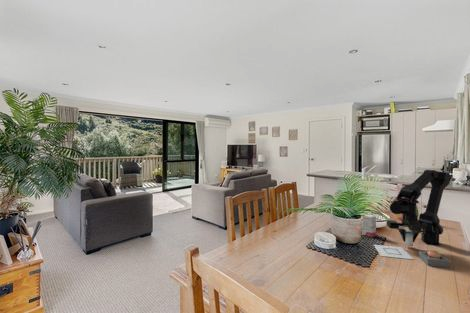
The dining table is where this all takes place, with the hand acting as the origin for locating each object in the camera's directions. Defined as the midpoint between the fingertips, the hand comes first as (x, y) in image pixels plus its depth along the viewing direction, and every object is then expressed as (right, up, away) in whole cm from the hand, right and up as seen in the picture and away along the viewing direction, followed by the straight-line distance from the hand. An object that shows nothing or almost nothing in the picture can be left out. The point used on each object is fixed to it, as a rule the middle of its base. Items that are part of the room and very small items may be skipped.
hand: (408, 241), depth 120 cm
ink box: (-11, -3, +18) cm, 21 cm away
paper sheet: (-12, -3, -5) cm, 13 cm away
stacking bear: (+32, -1, +42) cm, 53 cm away
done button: (0, -1, -15) cm, 16 cm away
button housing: (0, -4, -15) cm, 16 cm away
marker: (0, -2, 0) cm, 2 cm away
